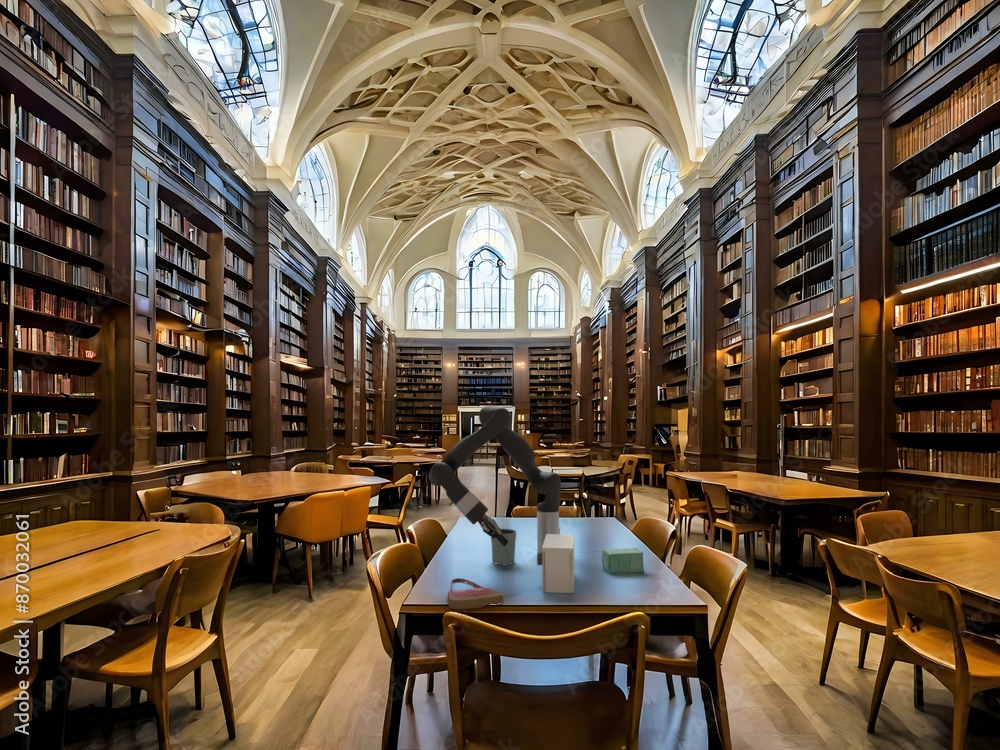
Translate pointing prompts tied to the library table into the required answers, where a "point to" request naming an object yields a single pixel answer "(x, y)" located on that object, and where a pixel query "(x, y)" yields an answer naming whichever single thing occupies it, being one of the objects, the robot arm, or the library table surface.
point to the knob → (539, 558)
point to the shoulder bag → (473, 596)
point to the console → (558, 563)
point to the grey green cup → (504, 548)
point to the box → (622, 560)
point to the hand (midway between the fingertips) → (506, 543)
